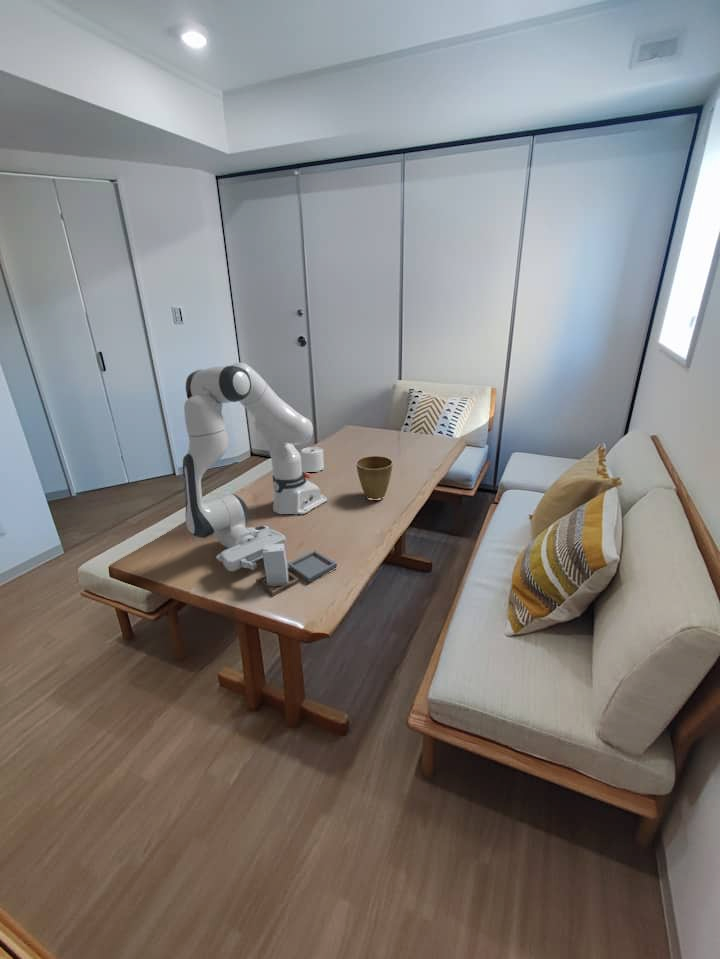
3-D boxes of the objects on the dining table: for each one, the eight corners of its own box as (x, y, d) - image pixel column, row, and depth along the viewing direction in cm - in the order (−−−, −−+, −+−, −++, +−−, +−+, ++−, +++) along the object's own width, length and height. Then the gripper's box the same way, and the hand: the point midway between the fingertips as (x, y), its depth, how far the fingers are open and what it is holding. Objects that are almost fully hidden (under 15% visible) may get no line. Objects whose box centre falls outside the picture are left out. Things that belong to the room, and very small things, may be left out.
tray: (315, 555, 138) (314, 550, 137) (336, 568, 131) (336, 563, 130) (288, 569, 131) (288, 563, 130) (309, 583, 124) (309, 578, 123)
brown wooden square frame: (281, 569, 131) (281, 566, 130) (299, 582, 125) (299, 578, 124) (256, 582, 125) (255, 579, 125) (273, 596, 119) (273, 592, 119)
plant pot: (364, 488, 187) (363, 454, 181) (396, 493, 182) (397, 458, 176) (351, 502, 174) (350, 466, 168) (385, 507, 169) (386, 470, 163)
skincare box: (288, 577, 127) (285, 542, 123) (287, 586, 123) (284, 550, 119) (268, 578, 127) (263, 543, 122) (266, 587, 123) (262, 552, 118)
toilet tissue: (327, 466, 213) (326, 447, 209) (319, 475, 202) (317, 455, 198) (307, 464, 215) (305, 446, 211) (298, 473, 204) (296, 453, 200)
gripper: (212, 547, 126) (235, 565, 117) (270, 523, 139) (295, 538, 130) (215, 564, 129) (238, 584, 120) (272, 540, 142) (297, 556, 133)
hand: (268, 560), depth 125 cm, fingers open, 8 cm apart
